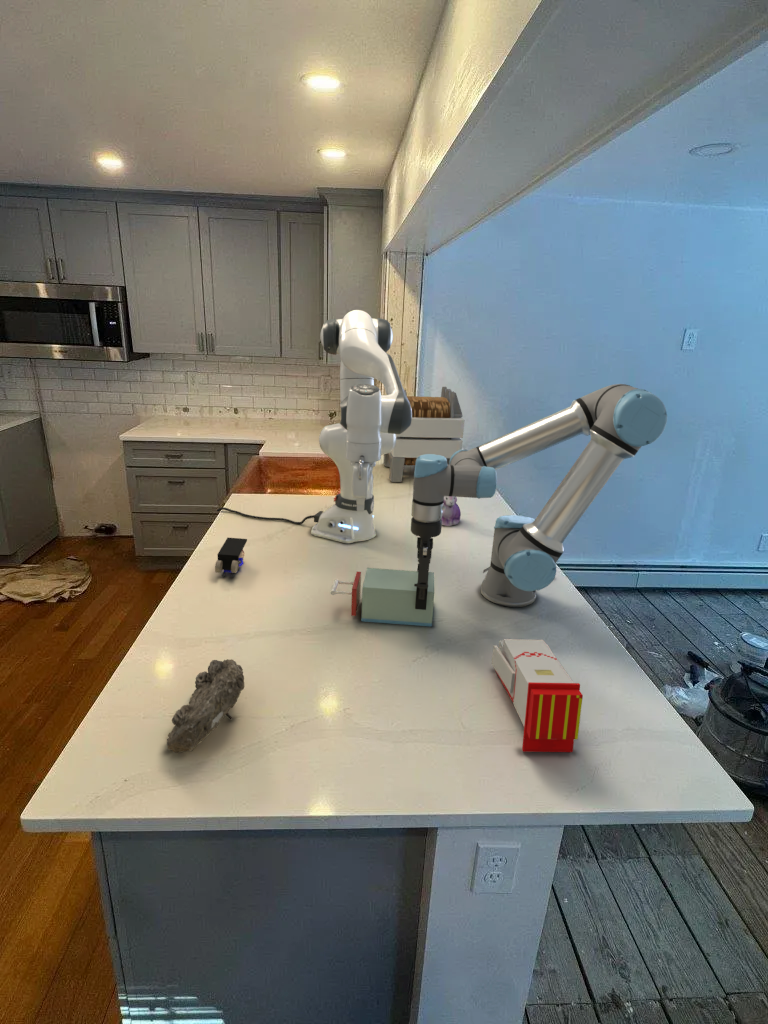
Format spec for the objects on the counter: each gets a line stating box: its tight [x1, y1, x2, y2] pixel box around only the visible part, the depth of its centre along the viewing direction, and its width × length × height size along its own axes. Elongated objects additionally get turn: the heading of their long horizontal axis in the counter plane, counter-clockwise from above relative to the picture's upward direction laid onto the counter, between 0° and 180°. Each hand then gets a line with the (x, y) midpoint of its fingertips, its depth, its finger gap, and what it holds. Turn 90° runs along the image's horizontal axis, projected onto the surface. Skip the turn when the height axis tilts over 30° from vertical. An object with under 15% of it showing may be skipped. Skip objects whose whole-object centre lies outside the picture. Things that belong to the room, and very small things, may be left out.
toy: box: [491, 638, 584, 753], centre depth 114 cm, size 12×13×30 cm
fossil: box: [166, 658, 245, 754], centre depth 106 cm, size 22×10×15 cm
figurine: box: [441, 496, 462, 527], centre depth 210 cm, size 9×10×15 cm
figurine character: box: [214, 537, 248, 578], centre depth 166 cm, size 7×8×15 cm
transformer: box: [383, 386, 465, 483], centre depth 268 cm, size 34×33×41 cm
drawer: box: [329, 571, 362, 617], centre depth 147 cm, size 22×10×8 cm, turn 86°
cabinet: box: [360, 567, 435, 627], centre depth 146 cm, size 18×11×10 cm, turn 86°
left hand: (361, 504), depth 145 cm, fingers open, 8 cm apart
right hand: (420, 597), depth 146 cm, fingers closed on cabinet, 11 cm apart
